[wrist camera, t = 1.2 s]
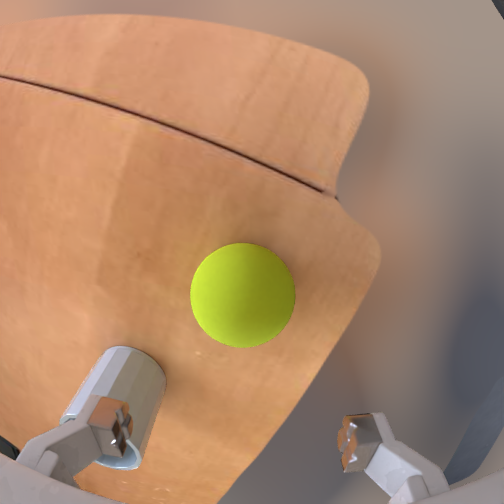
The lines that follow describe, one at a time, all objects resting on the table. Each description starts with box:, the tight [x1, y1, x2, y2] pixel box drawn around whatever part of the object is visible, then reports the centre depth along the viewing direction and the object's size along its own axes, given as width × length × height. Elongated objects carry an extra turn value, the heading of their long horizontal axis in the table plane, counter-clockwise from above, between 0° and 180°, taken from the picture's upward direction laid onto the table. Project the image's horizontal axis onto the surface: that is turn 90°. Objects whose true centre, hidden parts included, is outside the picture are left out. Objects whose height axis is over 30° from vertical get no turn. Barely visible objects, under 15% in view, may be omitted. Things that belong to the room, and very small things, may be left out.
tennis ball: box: [190, 243, 295, 348], centre depth 20 cm, size 7×7×7 cm
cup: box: [59, 346, 166, 470], centre depth 22 cm, size 7×7×9 cm
